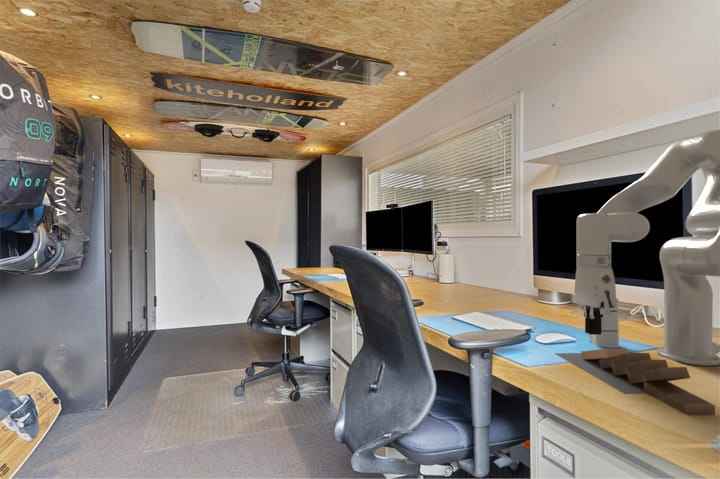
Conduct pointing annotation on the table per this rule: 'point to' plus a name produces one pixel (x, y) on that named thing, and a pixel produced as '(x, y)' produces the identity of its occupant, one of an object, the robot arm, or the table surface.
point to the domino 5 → (678, 398)
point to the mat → (603, 373)
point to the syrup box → (608, 330)
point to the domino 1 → (602, 353)
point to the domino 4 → (658, 375)
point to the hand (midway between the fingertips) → (593, 333)
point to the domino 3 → (637, 366)
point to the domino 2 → (623, 359)
